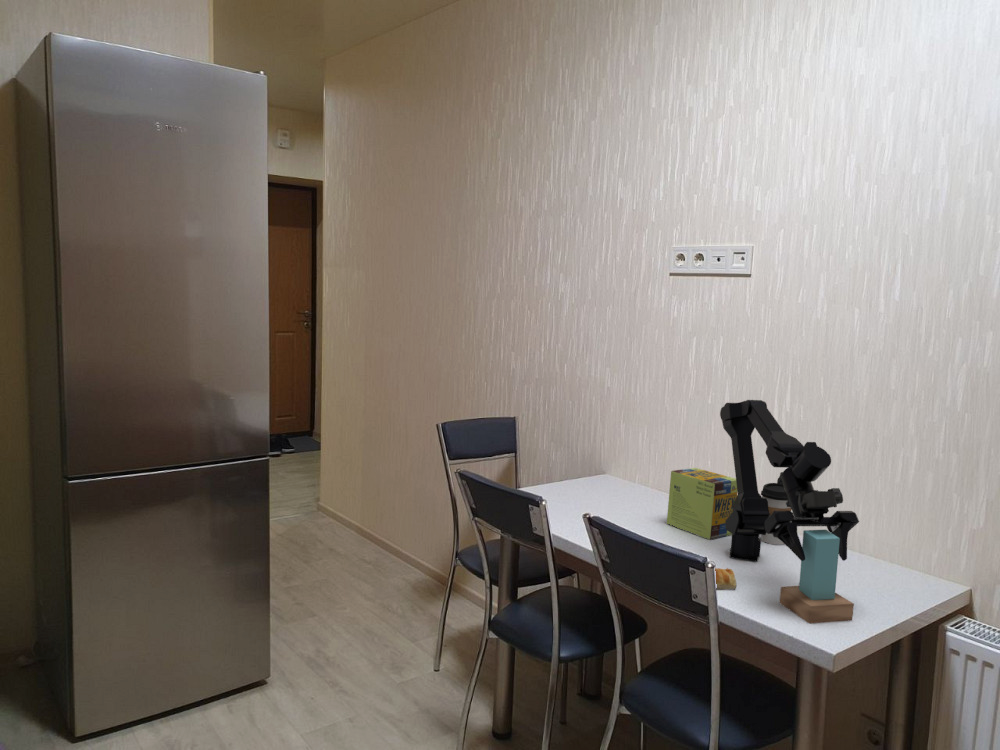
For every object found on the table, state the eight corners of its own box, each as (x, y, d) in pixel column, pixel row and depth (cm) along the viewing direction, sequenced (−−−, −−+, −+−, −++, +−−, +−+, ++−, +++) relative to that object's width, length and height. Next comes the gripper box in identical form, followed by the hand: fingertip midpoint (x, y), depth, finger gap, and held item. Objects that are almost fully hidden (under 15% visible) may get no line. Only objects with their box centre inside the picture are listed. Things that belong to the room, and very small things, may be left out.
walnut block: (779, 604, 161) (781, 586, 160) (819, 602, 163) (821, 584, 163) (809, 625, 151) (811, 606, 151) (851, 622, 154) (853, 603, 153)
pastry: (697, 590, 166) (698, 573, 165) (687, 579, 172) (688, 562, 172) (738, 591, 166) (740, 574, 166) (727, 579, 173) (728, 563, 173)
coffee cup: (793, 540, 203) (798, 486, 201) (785, 548, 196) (790, 492, 194) (761, 533, 207) (766, 480, 206) (752, 541, 200) (757, 486, 199)
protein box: (710, 540, 199) (715, 483, 198) (665, 524, 212) (670, 470, 210) (735, 534, 206) (739, 479, 204) (690, 519, 218) (694, 466, 216)
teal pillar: (798, 589, 159) (803, 530, 157) (821, 588, 159) (825, 529, 157) (811, 600, 154) (816, 539, 152) (834, 598, 155) (839, 538, 153)
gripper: (776, 473, 156) (799, 542, 147) (858, 474, 159) (887, 542, 150) (754, 499, 165) (775, 566, 155) (832, 499, 168) (858, 566, 158)
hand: (824, 560), depth 154 cm, fingers open, 9 cm apart
